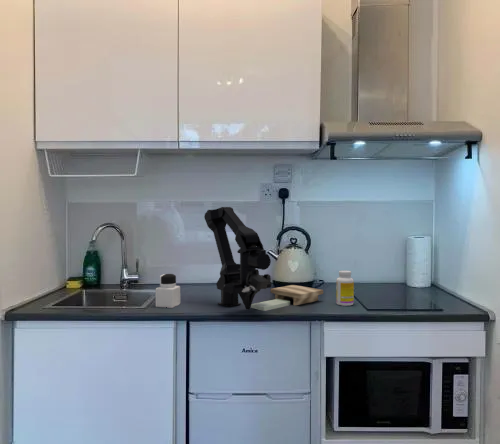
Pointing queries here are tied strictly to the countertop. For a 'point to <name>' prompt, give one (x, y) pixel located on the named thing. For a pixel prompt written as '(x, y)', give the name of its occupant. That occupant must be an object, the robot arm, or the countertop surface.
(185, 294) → the countertop surface
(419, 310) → the countertop surface
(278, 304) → the sage plate
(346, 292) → the supplement bottle
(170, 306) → the medicine bottle
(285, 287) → the overhang
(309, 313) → the countertop surface
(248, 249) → the robot arm
